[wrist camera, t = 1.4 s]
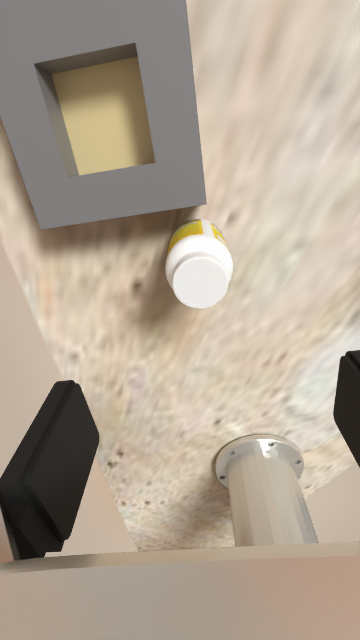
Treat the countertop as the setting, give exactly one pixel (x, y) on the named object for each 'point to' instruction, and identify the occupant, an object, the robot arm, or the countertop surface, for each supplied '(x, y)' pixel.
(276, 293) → the countertop surface
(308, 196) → the countertop surface
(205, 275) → the supplement bottle
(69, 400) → the robot arm
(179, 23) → the socket block
